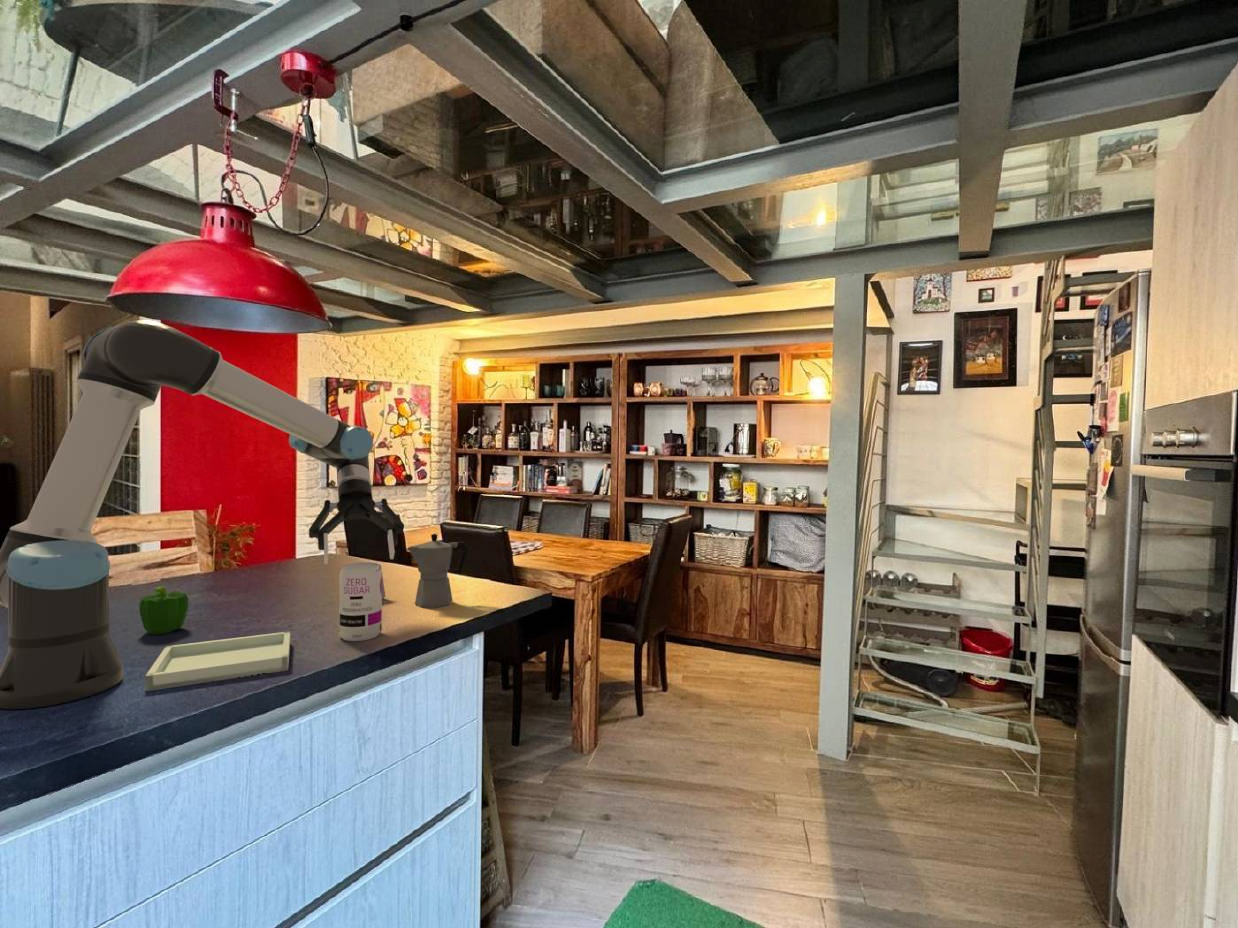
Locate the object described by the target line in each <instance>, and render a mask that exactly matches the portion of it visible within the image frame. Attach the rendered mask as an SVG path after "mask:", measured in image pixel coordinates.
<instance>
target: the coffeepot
mask: <svg viewBox="0 0 1238 928" xmlns="http://www.w3.org/2000/svg"><path fill="white" fill-rule="evenodd" d="M438 535H439V534H436V533H433V534H430V537H431V541H427V542H423V543H419V544H416V545H411V546H408V547H407V548H406V551H408V552H410V554H411V556H412V557H413V559H414V560H415V562H416V563H417V564H416V565H417V571H418V572H419V574H420V575H419V576H420V578H419V580H418V584H417V591H416V594H415V595H416V596H415V602H414V605H415V606H417V607H418V606H419V608H424V609H433V608H434V609H435V608H441V607H446V606H450V605H451V604H452V602H453V595H452V591H451V590H452V589H451V585H450V583H451V582H450V578H449V577H448V571H449V570H450V567H451V560H452V553H453V551H457V550H462V551H461V554H460V560H459V562H458V568H457V569H453V570H452V572H453V574H461V573H462V572H463V569H464V567H465V564H466V560H467V558H468V556H469V553H470V547H469V546H468V544H466V543H465V542H464V541H457V542H455V541H454V542H453V541H452V542H448V543H447V542H444V541H441V540H440V541H438Z"/></svg>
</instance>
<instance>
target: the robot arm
mask: <svg viewBox="0 0 1238 928" xmlns="http://www.w3.org/2000/svg"><path fill="white" fill-rule="evenodd" d="M82 362H83V365H82V367H81V370H80V372H79V373H78V376H77V379H76V382H75V383H76V384H77V385H78V386H79V388H80V390H81V391H82V394H81V397H80V400H79V402H78V404H77V406H76V407H75V410H74V413H73V414H72V417H71V420H70V421H69V424H68V426H67V429H66V431H65V434H64V435H63V437H62V440H61V443H60V444H59V447H58V449H57V451H56V454H55V456H54V457H53V460H52V462H51V464H50V467H49V468H48V471H47V474H46V475H45V478H44V480H43V482H42V484H41V487H40V490H39V492H38V494H37V497H36V498H35V501H34V503H33V506H32V508H31V510H30V512H29V514H28V516H27V518H26V519H25V520H24V521H22V522H20V523H17V524H15V525H13V526H10V528H9V531H8V532H7V534H6V536H5V538H4V541H3V543H2V546H1V548H0V607H2V608H5V609H7V611H8V613H7V614H8V620H7V621H8V651H7V654H6V656H5V658H4V661H3V663H2V666H1V668H0V709H4V710H5V709H6V710H24V709H25V710H26V709H36V708H42V707H49V706H54V705H59V704H63V703H64V704H65V703H68V702H69V703H70V702H74V701H77V700H80V699H83V698H87V697H90V696H94V695H97V694H98V693H102V692H104V691H106V690H108V689H111V688H112V687H114V686H116V685H118V684H119V683H120V682H121V681H122V680H123V678H124V665H123V662H122V660H121V657H120V655H119V654H118V651H117V649H116V647H115V644H114V642H113V640H112V638H111V636H110V591H109V590H110V569H111V562H110V559H109V552H108V550H107V548H106V547H105V546H104V545H102V544H100V543H98V540H97V539H96V537H95V535H94V534H93V533H92V529H93V526H94V524H95V521H96V519H97V517H98V514H99V512H100V511H101V510H100V509H101V507H102V504H103V502H104V500H105V498H106V496H107V492H108V490H109V487H110V485H111V482H112V480H113V478H114V476H115V474H116V470H117V468H118V466H119V463H120V461H121V459H122V456H123V454H124V452H125V449H126V447H127V445H128V441H129V440H130V436H131V434H132V432H133V430H134V429H135V425H136V422H137V421H138V418H139V415H140V414H141V413H140V412H141V411H142V410H143V409H145V408H149V407H151V406H154V405H155V403H156V400H157V397H158V395H159V392H160V391H161V388H162V386H164V387H168V388H172V389H176V390H178V391H179V390H180V391H182V392H184V393H186V394H189V395H190V396H196V395H204V396H206V397H207V398H210V399H212V400H214V401H217V402H219V403H221V404H223V405H224V406H225V405H226V406H228V407H230V408H232V409H235V410H236V411H238V412H241V413H243V414H245V415H247V416H249V417H252V418H254V419H256V420H258V421H261V422H263V423H265V424H267V425H269V426H270V427H271V426H272V427H274V428H276V429H278V430H280V431H282V432H284V433H287V434H289V437H288V443H289V446H290V447H291V448H292V449H294V450H296V451H297V452H300V454H304V455H307V456H309V457H311V458H313V459H315V460H318V461H320V462H322V463H325V464H327V465H329V466H330V467H333V468H334V469H336V476H337V477H336V478H337V494H338V495H337V496H338V498H337V499H338V500H337V502H331V501H330V500H329V499H326V500H324V504H323V508H322V509H321V511H320V512H319V513H318V515H317V516H316V518H315V519H314V520H313V523H312V524H311V526H310V527H309V529H308V538H310V539H314V538H315V539H317V549H318V551H323V561H324V562H323V563H324V565H329V558H330V557H329V535H330V534H331V532H332V531H334V530H335V529H336V528H337V527H338V526H339V525H340V524H341V523H343V522H345V520H347V519H349V520H351V521H352V520H353V521H354V520H357V519H358V520H364V519H367V520H369V522H373V523H374V524H375V525H377V526H378V527H380V528H381V530H384V532H386V534H387V543H388V544H387V545H388V553H389V559H390V560H394V558H395V553H396V551H395V547H396V546H398V543H399V541H398V540H399V538H398V534H403V533H404V530H405V524H404V522H403V521H402V519H401V518H400V517H398V515H397V513H396V512H394V511H393V509H392V508H391V507H390V506H389V504H388V501H387V498H382V499H381V500H380V501H378V500H377V501H375V500H374V499H373V490H372V483H371V482H372V481H371V474H370V472H371V471H370V460H369V456H370V455H369V454H370V453H371V452H372V450H373V446H374V438H373V435H372V433H371V432H370V431H369V430H368V429H367V428H365V427H364V426H359V425H350V424H348V423H346V422H344V421H342V420H340V419H338V418H335V417H333V416H332V415H330V414H328V413H326V412H324V411H322V410H320V409H319V408H316V407H314V406H312V405H311V404H309V403H306V402H305V401H302V400H301V399H299V398H298V397H295V396H293V395H291V394H289V393H287V392H286V391H283V390H281V389H280V388H278V387H276V386H274V385H272V384H270V383H269V382H267V381H264V380H262V379H261V378H259V377H257V376H255V375H253V374H251V373H249V372H247V371H246V370H243V369H241V368H240V367H238V366H235V365H233V364H231V363H230V362H228V361H226V360H224V359H223V356H222V353H221V352H220V351H218V350H216V349H214V348H213V347H212V346H209V345H207V344H205V343H203V342H201V341H200V340H197V339H196V338H194V337H192V336H190V335H188V334H186V333H184V332H182V331H180V330H178V329H176V328H175V327H172V326H170V325H166V324H164V323H162V322H161V323H160V322H159V321H154V320H148V319H147V320H145V319H144V320H143V319H140V320H132V321H128V322H125V323H123V324H120V325H115V326H110V327H107V328H104V329H102V330H101V329H100V331H98V332H97V333H95V334H94V335H92V336H91V337H90V338H89V339H88V341H87V342H86V344H85V345H84V348H83V351H82ZM375 508H377V509H378V510H379V512H381V513H382V514H380V513H379V512H377V510H376V509H375ZM335 509H336V510H337V513H336V514H335V515H334V516H332V517H331V518H330V519H329V520H328V521H327V522H326V520H327V518H328V517H329V515H330V513H333V512H334V510H335ZM383 515H384V516H383ZM325 522H326V523H325ZM324 523H325V524H324Z"/></svg>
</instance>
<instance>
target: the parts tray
mask: <svg viewBox="0 0 1238 928" xmlns="http://www.w3.org/2000/svg"><path fill="white" fill-rule="evenodd" d="M290 650H291V631H282V632H275V633H274V632H273V633H267V634H258V635H257V634H255V635H250V636H243V637H242V636H241V637H233V638H224V639H216V640H207V641H200V642H199V641H198V642H193V643H192V642H190V643H183V644H174V645H166V646H164V648H163V650H161V651H162V652H160V655H158V657H157V659H156V660H155V661H154V663H153V664H152V665H151V667H150V669H148V671H147V673H146V674H145V676H144V678H145V679H144V685H145V686H144V690H145V692H151V691H158V690H165V689H171V688H177V687H184V686H191V685H198V684H204V683H213V682H218V681H224V680H225V681H226V680H232V679H238V677H240V678H246V677H252V676H251V675H253V676H258V675H257V674H260V675H263V674H262V673H267V674H271V673H272V674H273V673H280V672H286V671H289V666H290ZM245 676H246V677H245ZM212 681H213V682H212Z"/></svg>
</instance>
